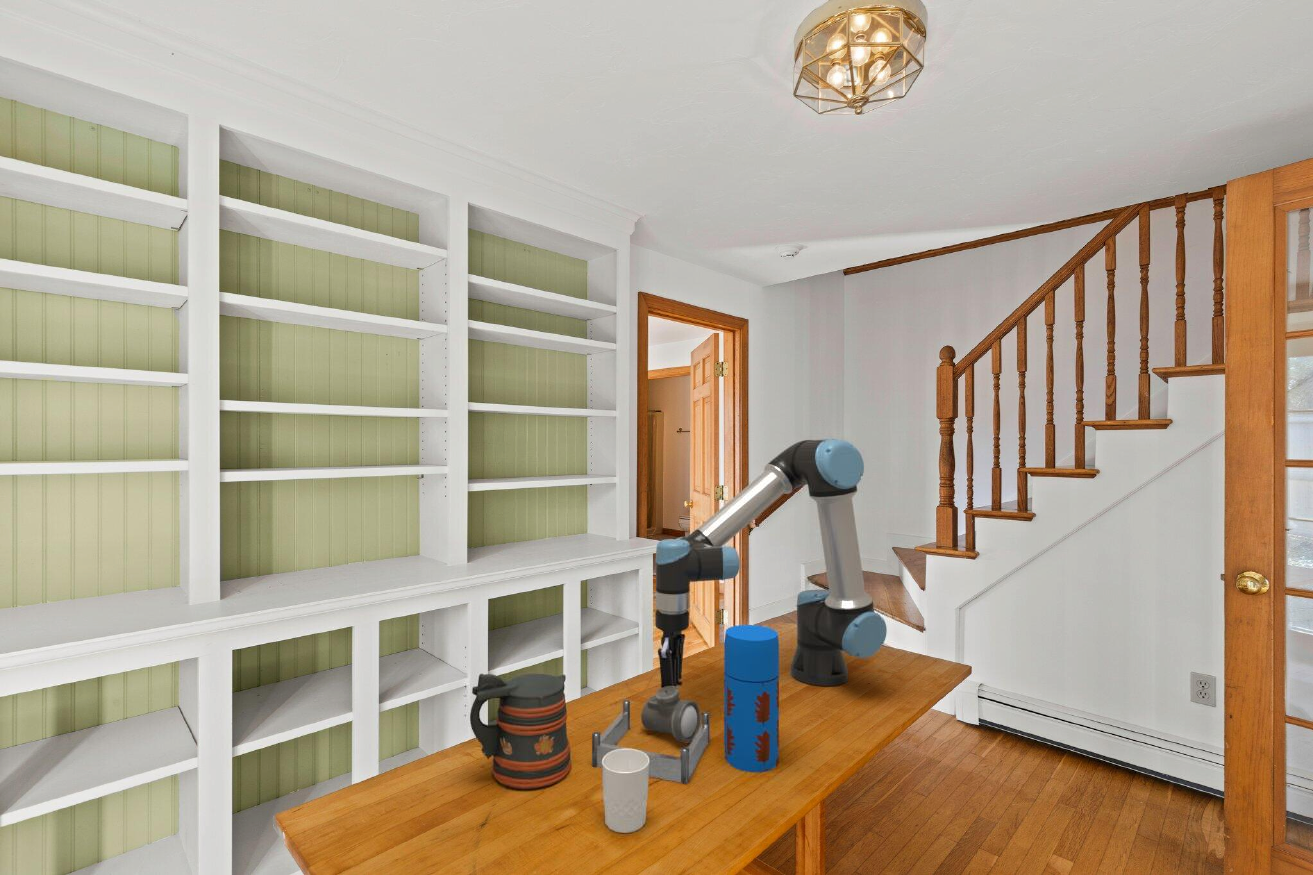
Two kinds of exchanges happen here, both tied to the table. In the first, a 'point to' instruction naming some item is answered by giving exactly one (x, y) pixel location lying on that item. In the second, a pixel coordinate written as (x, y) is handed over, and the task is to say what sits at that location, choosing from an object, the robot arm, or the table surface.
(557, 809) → the table surface
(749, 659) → the thermos
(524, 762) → the beer stein
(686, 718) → the pipe fitting
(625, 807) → the white cup
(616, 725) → the grey metal frame
